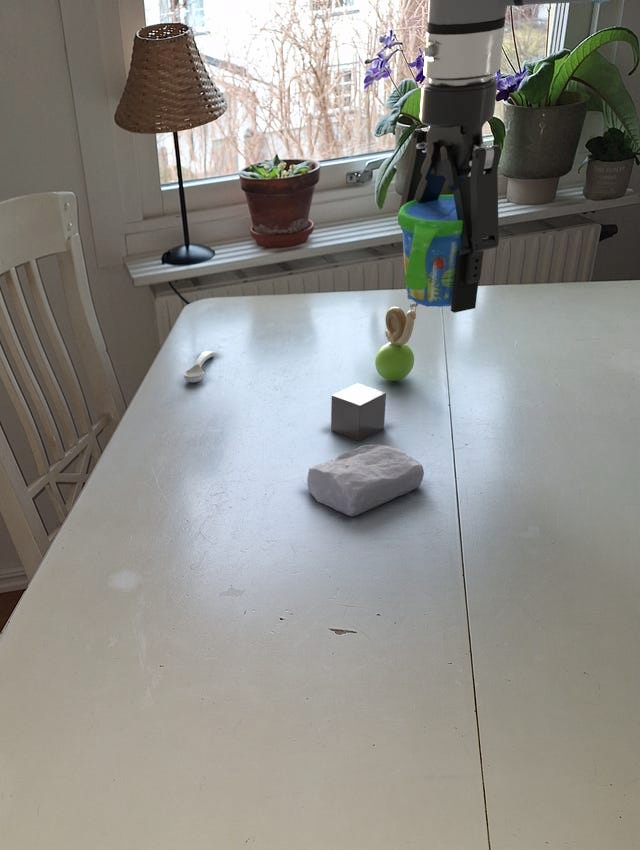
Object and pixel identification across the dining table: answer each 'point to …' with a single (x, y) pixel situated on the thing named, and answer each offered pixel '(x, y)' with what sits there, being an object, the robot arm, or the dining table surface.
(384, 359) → the snail figurine
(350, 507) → the stone block
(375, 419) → the metal cube
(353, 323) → the dining table surface
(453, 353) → the dining table surface
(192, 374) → the spoon
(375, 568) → the dining table surface
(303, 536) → the dining table surface
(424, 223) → the snack cup
